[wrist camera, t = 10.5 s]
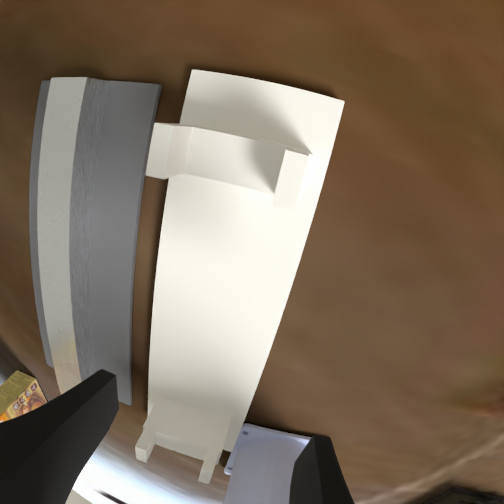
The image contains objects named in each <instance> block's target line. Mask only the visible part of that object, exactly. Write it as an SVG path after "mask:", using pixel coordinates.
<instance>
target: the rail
mask: <svg viewBox="0 0 504 504" xmlns="http://www.w3.org/2000/svg"><path fill="white" fill-rule="evenodd" d="M109 84H110V81H105V80H100V79H95V78H89V77H57V78H51V82H50V87H49V92H48V98H47V103H46V110H45V116H44V123H43V131H42V139H41V149H40V160H39V175H38V199H37V231H38V256H39V270H40V282H41V291H42V300H43V308H44V315H45V322H46V328H47V334H48V340H49V345H50V350H51V355H52V360H53V365H54V369H55V374H56V378H57V382H58V386H59V390H60V394H63V393H65V392H66V391H68V390H70V389H71V388H73V387H74V386H76V385H77V384H79V383H81V382H82V381H84V380H85V379H87V378H88V377H90V376H91V375H93V374H94V373H96V370H95V361H94V351H93V339H92V325H91V305H90V233H91V214H92V200H93V188H94V178H95V168H96V160H97V152H98V145H99V138H100V132H101V125H102V120H103V114H104V108H105V103H106V98H107V93H108V89H109Z"/></svg>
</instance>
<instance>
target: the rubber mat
mask: <svg viewBox="0 0 504 504" xmlns="http://www.w3.org/2000/svg"><path fill="white" fill-rule="evenodd" d="M50 82H51V80H47V81H42V82H41V87H40V92H39V98H38V104H37V110H36V117H35V124H34V132H33V142H32V152H31V165H30V185H29V233H30V253H31V266H32V277H33V286H34V295H35V302H36V309H37V316H38V322H39V328H40V333H41V339H42V344H43V348H44V353H45V358H46V362H47V365H49V366H50V367H52V368H54V365H53V360H52V355H51V350H50V345H49V340H48V334H47V328H46V322H45V315H44V308H43V300H42V291H41V282H40V270H39V256H38V231H37V199H38V175H39V160H40V149H41V139H42V131H43V123H44V116H45V110H46V103H47V98H48V92H49V87H50ZM161 88H162V85H160V84H151V83H139V82H125V81H110V84H109V89H108V93H107V98H106V103H105V108H104V114H103V120H102V125H101V132H100V138H99V145H98V152H97V160H96V168H95V178H94V188H93V200H92V214H91V233H90V305H91V325H92V339H93V351H94V361H95V370H96V372H97V371H98V370H100V369H104V370H106V371H108V372H111V373H113V374H115V375H116V378H117V392H118V401H120V402H122V403H125V404H127V405H129V406H131V404H132V379H131V333H132V303H133V284H134V269H135V256H136V245H137V235H138V225H139V216H140V208H141V200H142V193H143V185H144V179H145V172H146V166H147V159H148V153H149V148H150V142H151V137H152V131H153V126H154V121H155V116H156V111H157V106H158V102H159V97H160V93H161Z"/></svg>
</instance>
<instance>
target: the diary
mask: <svg viewBox="0 0 504 504" xmlns="http://www.w3.org/2000/svg"><path fill="white" fill-rule="evenodd" d="M477 493H478V494H477ZM477 493H473V492H471V491H469V490H468V489H464V488H461V487H457V486H453V487H452V488H450V489H448V490H447V491H445V492H443V493H441V494H440V495H438V496H436V497H434V498H432V499H431V500H429V501H427V502H425V503H423V504H504V497H500V496H494V495H487V494H485V493H481V492H477Z"/></svg>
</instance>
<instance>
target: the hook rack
mask: <svg viewBox="0 0 504 504" xmlns="http://www.w3.org/2000/svg"><path fill="white" fill-rule="evenodd" d="M344 102H345V101H342V100H338V99H335V98H332V97H328V96H325V95H321V94H317V93H314V92H310V91H306V90H302V89H298V88H294V87H290V86H285V85H281V84H277V83H272V82H267V81H262V80H257V79H252V78H247V77H241V76H236V75H229V74H223V73H216V72H209V71H202V70H194V69H192V72H191V76H190V80H189V84H188V88H187V92H186V97H185V101H184V105H183V110H182V114H181V119H180V124H175V123H171V124H169V123H154V128H153V134H152V139H151V144H150V150H149V156H148V162H147V168H146V175H147V176H151V177H156V178H160V179H167V178H169V182H168V188H167V194H166V200H165V207H164V214H163V221H162V228H161V235H160V243H159V251H158V259H157V268H156V278H155V288H154V298H153V310H152V323H151V338H150V356H149V381H148V418H147V419H146V421H145V423H144V425H143V433H142V434H141V436H140V438H139V440H138V442H137V444H136V446H135V450H136V459H138V460H140V461H143V462H145V463H146V462H147V460H148V458H149V456H150V454H151V452H152V450H153V448H154V446H155V444H157V445H159V446H162V447H165V448H167V449H170V450H173V451H176V452H179V453H182V454H185V455H188V456H191V457H194V458H197V459H200V460H204V463H203V466H202V469H201V472H200V476H199V480H198V481H200V482H203V483H207V484H209V482H210V479H211V476H212V474H213V470H214V467H215V464H218V462H219V459H220V456H221V453H222V450H226V451H230V452H232V451H233V448H234V446H235V443H236V441H237V438H238V436H239V433H240V431H241V428H242V425H243V423H244V420H245V418H246V415H247V412H248V410H249V407H250V404H251V402H252V399H253V396H254V394H255V391H256V388H257V385H258V383H259V380H260V377H261V374H262V372H263V369H264V366H265V363H266V360H267V358H268V355H269V352H270V349H271V346H272V343H273V340H274V338H275V335H276V332H277V329H278V326H279V323H280V320H281V317H282V314H283V311H284V308H285V305H286V302H287V299H288V296H289V293H290V290H291V287H292V284H293V280H294V277H295V274H296V271H297V268H298V265H299V262H300V258H301V255H302V252H303V249H304V245H305V242H306V239H307V236H308V232H309V229H310V226H311V222H312V219H313V216H314V212H315V209H316V205H317V202H318V198H319V195H320V192H321V188H322V184H323V181H324V177H325V174H326V170H327V167H328V163H329V159H330V156H331V152H332V148H333V144H334V141H335V137H336V133H337V129H338V125H339V122H340V118H341V114H342V110H343V106H344Z"/></svg>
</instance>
